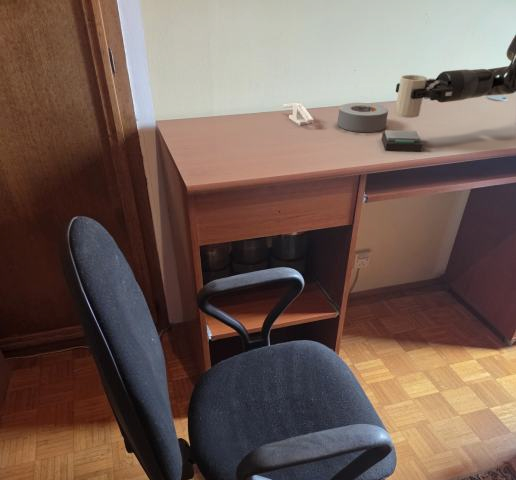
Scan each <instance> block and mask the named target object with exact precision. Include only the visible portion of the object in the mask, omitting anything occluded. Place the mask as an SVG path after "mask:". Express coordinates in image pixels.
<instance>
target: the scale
mask: <svg viewBox="0 0 516 480" xmlns="http://www.w3.org/2000/svg"><path fill="white" fill-rule="evenodd" d="M381 142H382V145H383V149H384V151H385V152H413V153H417V152H418V153H419V152H420V153H421V152H423V151H422V150H423V147H424V144H423V142H422V139H421V137H420V135H419V134H418V132H417V130H386V129H384V132H382V135H381Z"/></svg>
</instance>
